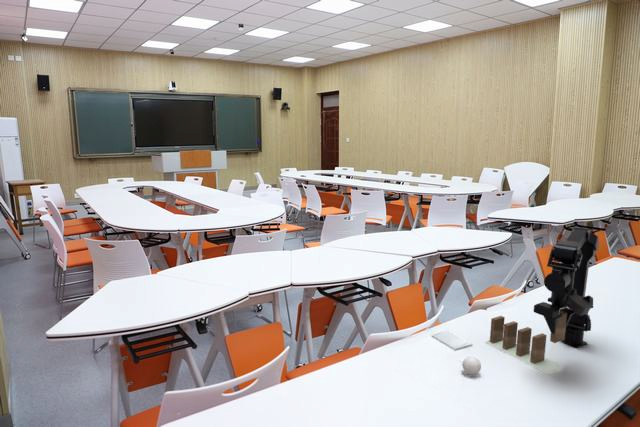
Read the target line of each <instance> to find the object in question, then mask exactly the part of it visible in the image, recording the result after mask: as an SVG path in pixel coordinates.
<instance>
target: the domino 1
mask: <svg viewBox="0 0 640 427" xmlns="http://www.w3.org/2000/svg"><path fill="white" fill-rule="evenodd" d="M504 324H505V316H502V315H499V316H496V317H492V318H491V320H490V333H489V334H490V335H489V341H490V342H491V343H493V344H494V343H497V342H500V341H503V334H504Z"/></svg>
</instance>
